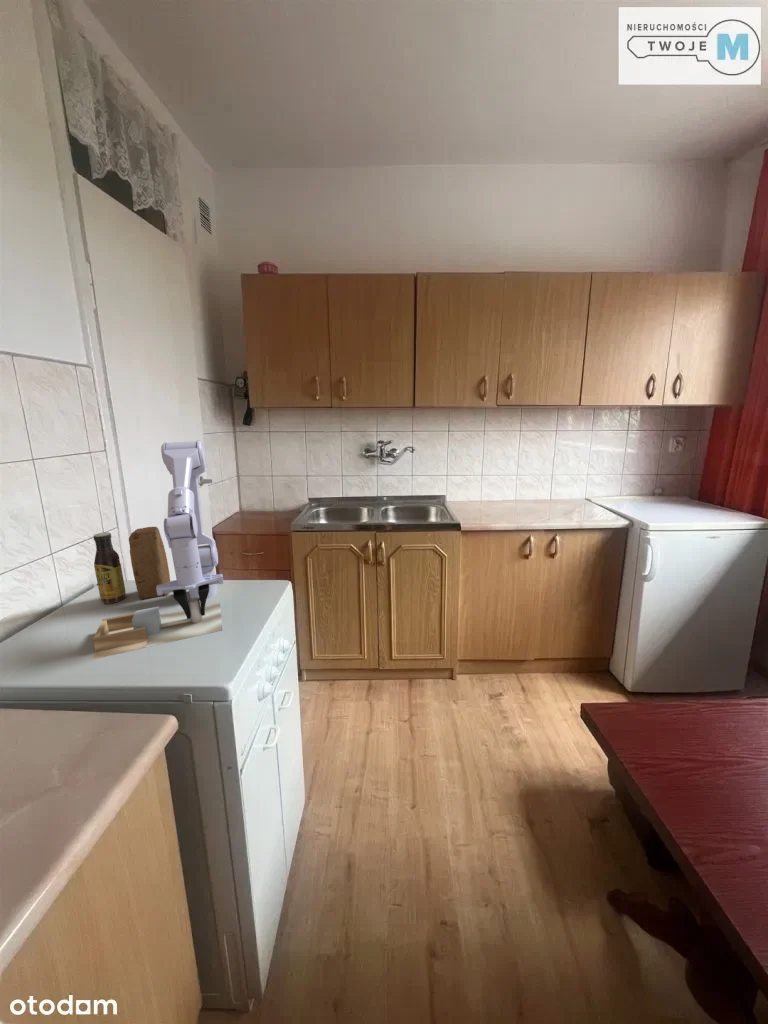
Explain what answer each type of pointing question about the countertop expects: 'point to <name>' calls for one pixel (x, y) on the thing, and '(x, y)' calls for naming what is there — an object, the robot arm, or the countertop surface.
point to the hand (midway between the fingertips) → (196, 615)
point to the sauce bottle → (108, 570)
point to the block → (148, 561)
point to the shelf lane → (123, 637)
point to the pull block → (153, 619)
